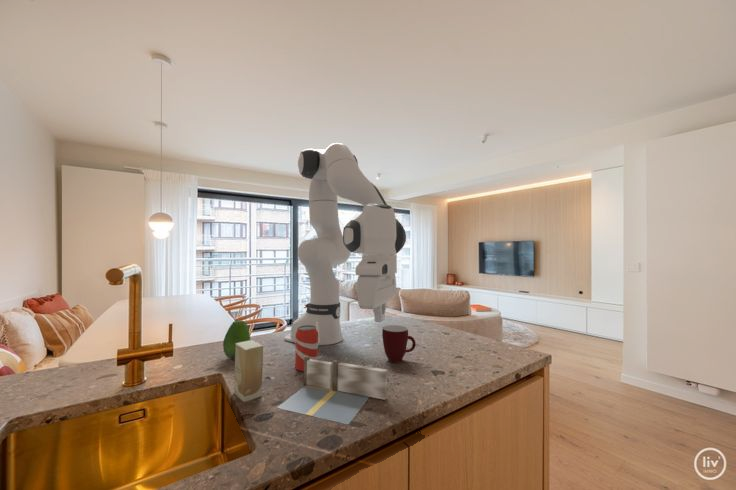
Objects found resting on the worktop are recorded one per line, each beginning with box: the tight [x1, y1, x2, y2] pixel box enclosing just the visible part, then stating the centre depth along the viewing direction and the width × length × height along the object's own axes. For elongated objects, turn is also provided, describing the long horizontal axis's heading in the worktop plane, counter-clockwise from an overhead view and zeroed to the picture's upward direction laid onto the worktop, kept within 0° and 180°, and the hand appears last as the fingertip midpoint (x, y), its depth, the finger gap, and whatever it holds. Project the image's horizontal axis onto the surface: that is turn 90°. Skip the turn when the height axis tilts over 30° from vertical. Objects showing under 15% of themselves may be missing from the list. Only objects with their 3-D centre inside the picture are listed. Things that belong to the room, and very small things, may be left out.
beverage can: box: [294, 325, 319, 372], centre depth 87 cm, size 6×6×12 cm
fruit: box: [222, 319, 251, 361], centre depth 95 cm, size 8×8×12 cm
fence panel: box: [338, 362, 388, 401], centre depth 71 cm, size 12×1×6 cm, turn 69°
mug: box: [381, 324, 417, 363], centre depth 95 cm, size 11×8×10 cm
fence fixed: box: [303, 356, 339, 391], centre depth 75 cm, size 9×1×7 cm, turn 69°
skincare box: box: [233, 339, 264, 403], centre depth 71 cm, size 6×4×12 cm
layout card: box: [276, 385, 370, 426], centre depth 69 cm, size 17×15×1 cm
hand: (379, 320), depth 76 cm, fingers closed
